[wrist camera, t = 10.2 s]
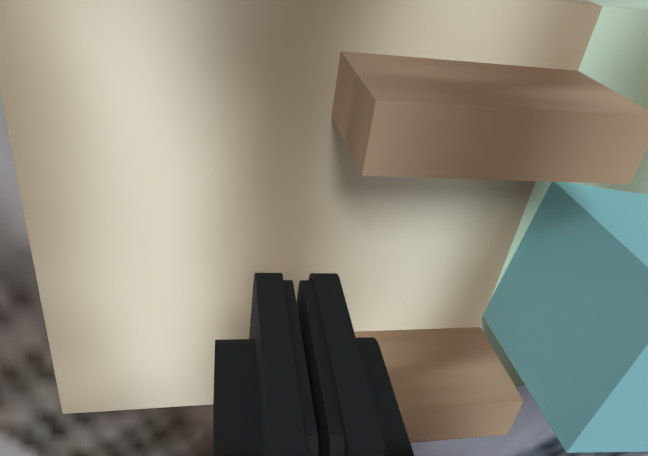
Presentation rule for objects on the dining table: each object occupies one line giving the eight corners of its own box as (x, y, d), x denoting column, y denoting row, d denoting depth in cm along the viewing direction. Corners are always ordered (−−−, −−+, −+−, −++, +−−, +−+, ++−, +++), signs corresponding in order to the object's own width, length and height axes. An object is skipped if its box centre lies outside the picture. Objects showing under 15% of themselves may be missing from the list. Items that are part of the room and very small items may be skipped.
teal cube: (690, 201, 17) (850, 314, 12) (607, 323, 19) (717, 450, 15) (552, 179, 15) (682, 298, 11) (482, 315, 18) (566, 452, 14)
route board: (912, 28, 18) (1174, 90, 13) (712, 319, 25) (836, 431, 20) (16, -82, 12) (-109, -41, 7) (80, 342, 19) (38, 509, 14)
